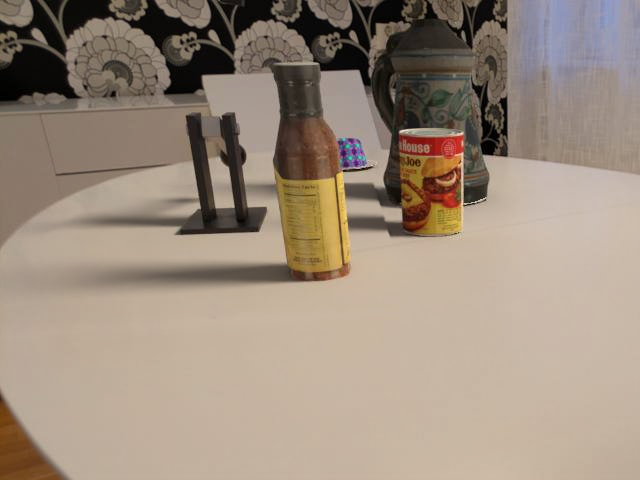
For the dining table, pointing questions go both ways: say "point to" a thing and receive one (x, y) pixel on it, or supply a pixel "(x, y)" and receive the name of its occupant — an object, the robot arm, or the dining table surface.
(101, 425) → the dining table surface
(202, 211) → the bracket
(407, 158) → the canned food
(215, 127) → the lever
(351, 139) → the pudding
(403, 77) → the beer stein
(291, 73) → the sauce bottle
